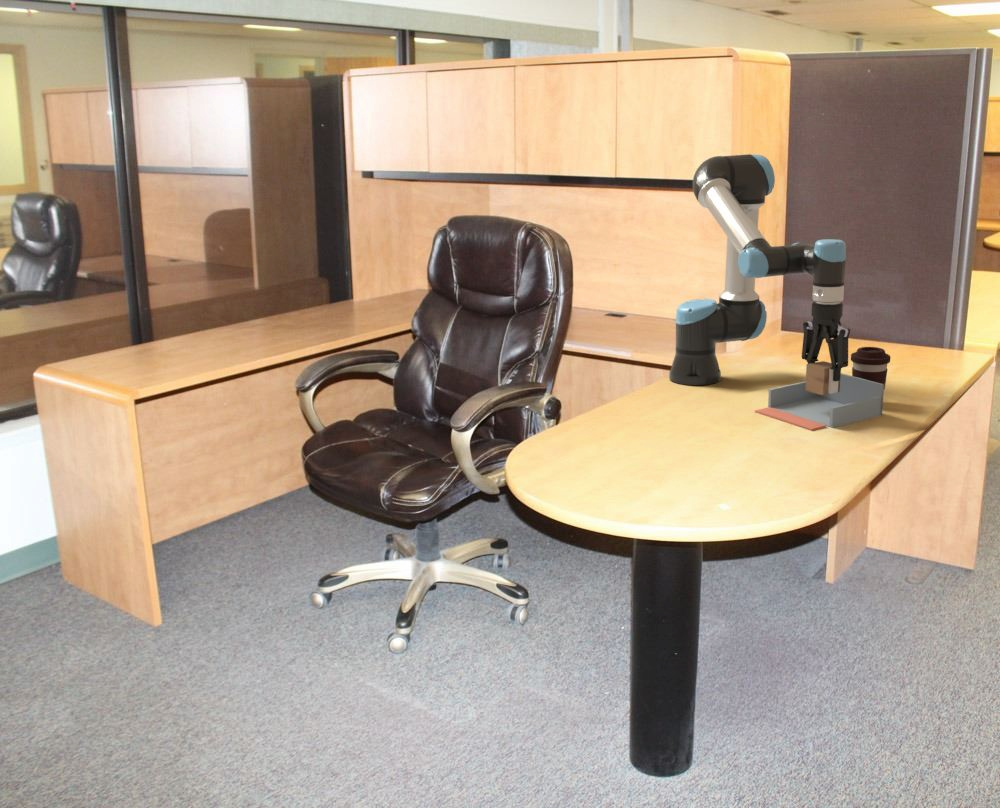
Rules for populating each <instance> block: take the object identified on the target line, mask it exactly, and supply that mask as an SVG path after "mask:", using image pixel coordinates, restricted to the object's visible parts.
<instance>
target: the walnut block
mask: <svg viewBox="0 0 1000 808" xmlns="http://www.w3.org/2000/svg"><path fill="white" fill-rule="evenodd" d="M831 367H832V364H831V362H829V361H825V360H821V361H816V362H815V363H811V364H808V363H807V364H806V369H805V381H806V386H805V391H809V392H812V393H816V394H820V395H827V394H829V393H828V386H829V369H830V368H831ZM840 377H841V376H840ZM838 392H840V381H838Z"/></svg>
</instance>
